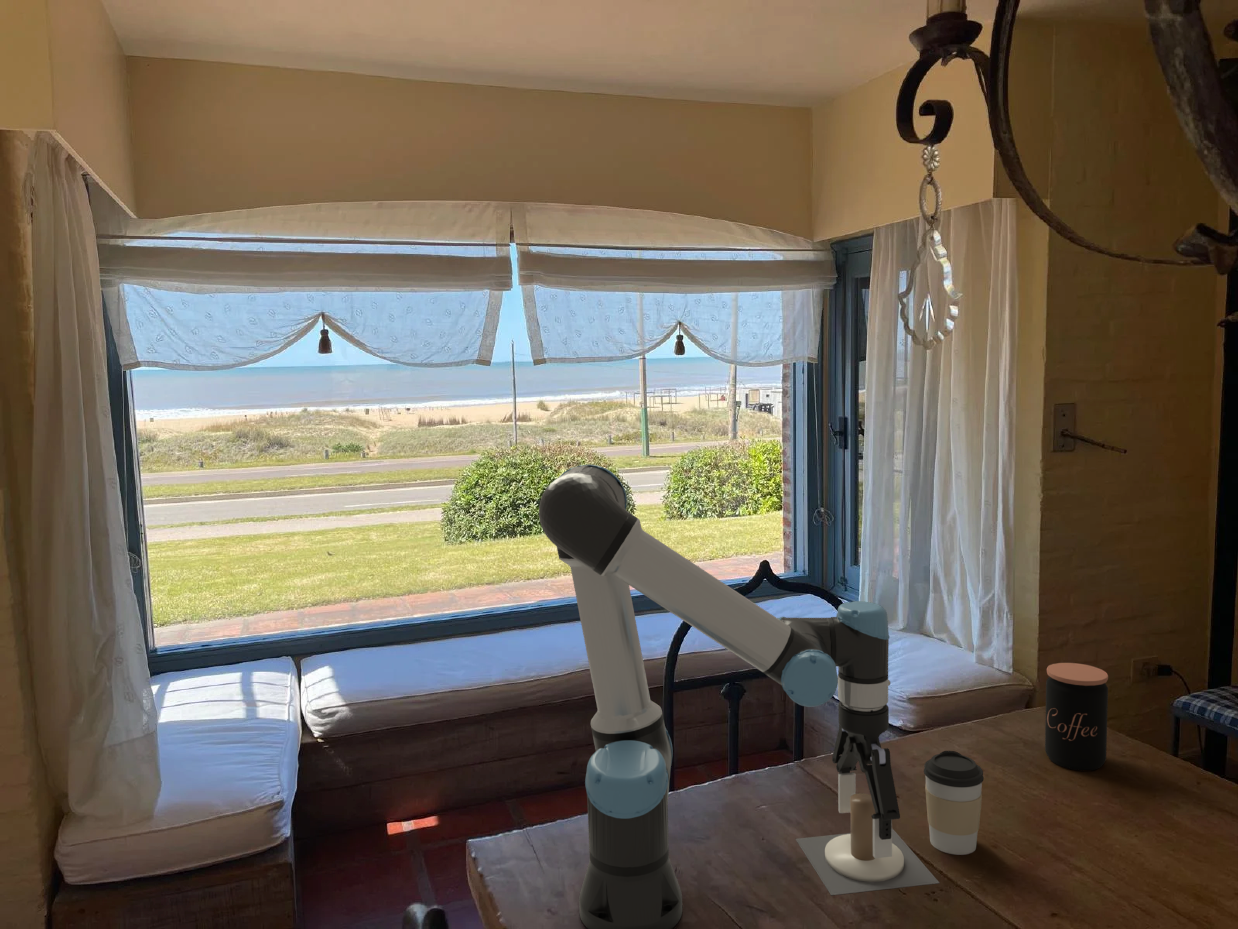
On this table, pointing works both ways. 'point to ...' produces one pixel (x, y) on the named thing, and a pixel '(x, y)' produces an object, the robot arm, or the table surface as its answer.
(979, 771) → the coffee cup
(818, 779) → the table surface
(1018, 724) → the table surface
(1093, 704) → the coffee jar
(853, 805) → the lid
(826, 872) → the mat
